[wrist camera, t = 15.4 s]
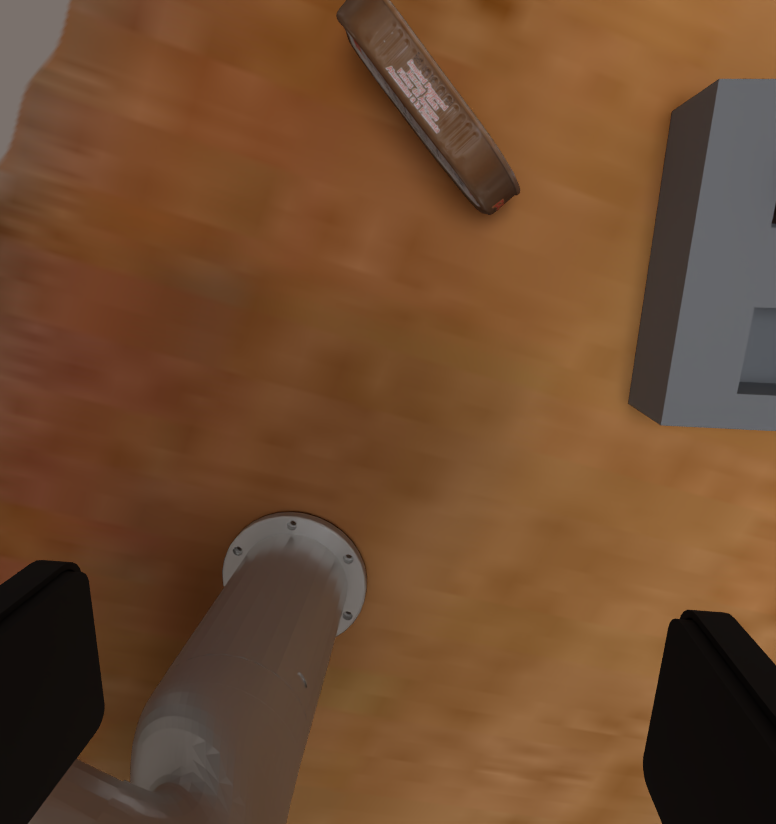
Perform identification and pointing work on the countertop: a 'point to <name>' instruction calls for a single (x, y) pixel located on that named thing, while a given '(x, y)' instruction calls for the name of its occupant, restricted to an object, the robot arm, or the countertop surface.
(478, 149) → the tin
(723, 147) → the bore block
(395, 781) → the countertop surface
